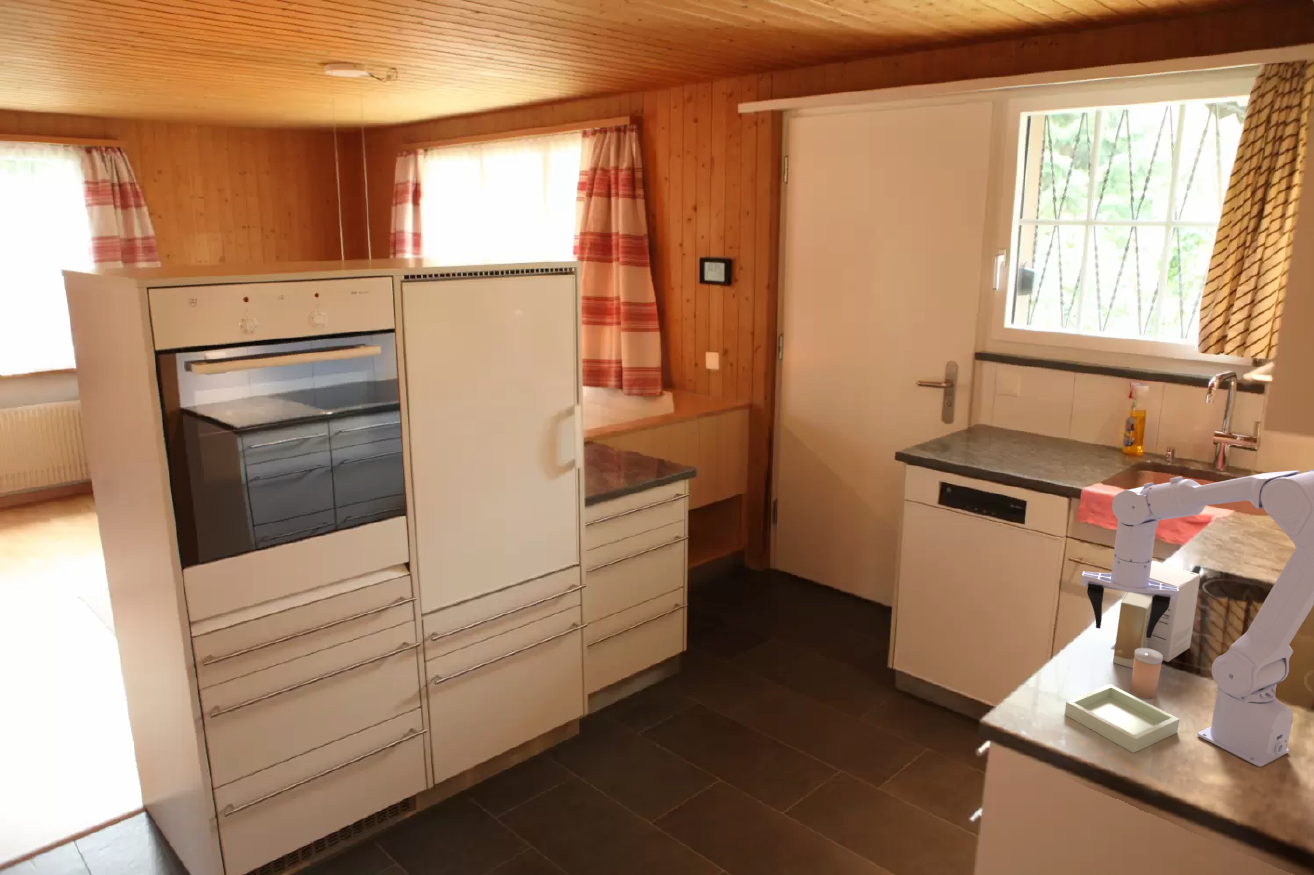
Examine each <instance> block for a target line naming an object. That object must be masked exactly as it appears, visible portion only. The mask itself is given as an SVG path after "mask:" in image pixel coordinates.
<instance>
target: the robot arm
mask: <svg viewBox="0 0 1314 875" xmlns="http://www.w3.org/2000/svg"><path fill="white" fill-rule="evenodd" d="M1246 501H1247V502H1250V503H1251V504H1252V505H1253V507H1254V508H1256V509H1257V510H1260V509H1264V511H1265V512H1266V514H1267V515H1268V516H1269V517H1270V518H1271V520H1272V521H1274V523H1276V525H1277V526H1278V527H1279V528H1280V529H1281V530H1282V532H1284V534H1286V536H1287V537H1288V538H1289V539H1290V540H1291V541H1292V542H1293V545H1294V546H1295V548H1294V550H1293V552H1292V554H1291V555H1290V557H1289V558H1288V560H1287V562H1286V564H1285V566H1284V567H1283V569H1282V570H1281V572H1280V574H1279V576H1278V578H1277V579H1276V581H1275V582H1274V584H1273V586H1272V588H1271V589H1270V592H1269V593H1268V595H1267V597H1266V598H1265V600H1264V602H1263V603H1262V605H1261V606H1260V609H1259V610H1258V611H1257V614H1256V615H1255V616H1254V619H1253V620H1252V622H1251V624H1250V625H1249V627H1248V629H1247V631H1246V632H1245V633H1244V634H1243V635H1241V636H1240V637H1239V638H1238V639H1237V640H1236V641H1235V642H1233V643H1232V644H1231V645H1230V646H1229V648H1228V650H1227V651H1226V652H1225V653H1224V654H1221V655H1218V656H1217V657H1216V658H1215V659H1214V660H1213V662H1212V665H1211V675H1212V679H1213V681H1214V682H1215V684H1216V685H1217V688H1216V689H1217V691H1216V696H1215V702H1214V708H1213V714H1212V720H1211V725H1210V726H1208V727H1206V728H1204V729H1202V730H1200V731H1198V732H1197V736H1198V737H1199V738H1201V739H1204V740H1205V741H1207V742H1210V743H1211V744H1213V745H1215V746H1218V747H1219V748H1221V749H1223V750H1225V751H1227V752H1229V753H1231V754H1233V755H1235V756H1237V757H1239V758H1241V759H1243V760H1244V761H1246V762H1249V763H1251V764H1253V765H1254V766H1257V767H1258V768H1259V767H1263V766H1266V765H1267V764H1269V763H1271V762H1273V761H1274V760H1276V759H1279V758H1280V757H1283V756H1284V755H1286V754H1287V753H1289V751H1290V749H1289V748H1288V745H1289V740H1290V735H1291V729H1292V725H1293V724H1292V723H1293V720H1294V715H1293V714H1294V713H1293V710H1292V709H1291V708H1290V707H1289V706H1287V705H1285V704H1284V703H1282V702H1281V701H1280V700H1279V699H1278V698H1277V697H1276V691H1277V690H1276V689H1277V687H1278V686H1277V685H1278V683H1281V682H1283V681H1284V680H1285V679H1286V678H1287V677H1288V674H1289V672H1290V663H1289V662H1290V658H1291V656H1292V655H1293V653H1294V650H1293V649H1292V647H1291V645H1290V644H1291V642H1292V640H1294V638H1295V636H1296V634H1297V633H1298V631H1299V630H1300V628H1301V626H1302V625H1303V623H1304V621H1305V620H1306V618H1307V616H1308V615H1309V614H1310V612H1311V610H1312V608H1313V607H1314V469H1309V470H1307V471H1304V472H1303V473H1301V470H1286V471H1285V470H1284V471H1276V472H1275V471H1274V472H1273V471H1271V472H1263V473H1259V474H1254V475H1253V474H1252V475H1248V476H1243V477H1238V478H1231V479H1228V480H1223V481H1218V482H1213V483H1207V484H1203V485H1201V484H1200V483H1199V482H1197V481H1195V480H1194V479H1190V478H1186V479H1184V477H1183V476H1176V477H1171V478H1169V482H1163V483H1159V484H1154V482H1147V483H1144V484H1143V486H1140V487H1135V488H1130V489H1124V490H1123V491H1120V492H1119V493H1117V494H1116V495H1115V496H1114V498H1112V502H1111V510H1112V513H1113V515H1114V516H1115V518H1116V519H1117V524H1116V533H1115V540H1114V542H1115V543H1114V547H1113V548H1114V549H1113V556H1112V557H1113V558H1112V566H1111V572H1110V573H1107V572H1106V573H1105V572H1091V571H1082V574H1081V582H1080V586H1082V587H1087V590H1086V593H1087V596H1088V599H1089V601H1090V603H1091V604H1090V605H1091V606H1092V610H1093V612H1094V619H1095V629H1101V626H1102V619H1103V617H1102V616H1103V601H1104V592H1105V589H1108V590H1114V591H1119V592H1120V591H1121V592H1126V593H1127V592H1131V593H1137V594H1143V595H1148V596H1152V604H1151V612H1150V617H1149V621H1148V625H1147V632H1146V637H1147V638H1151V635H1152V632H1153V630H1154V628H1155V626H1156V624H1157V622H1158V621H1159V619H1160V618H1161V616H1162V615H1163V614H1164V613H1165V612H1166V611H1167V609H1168V608H1169V605H1170V601H1175V602H1177V601H1178V594H1179V587H1175V586H1170V585H1166V584H1163V583H1159V582H1156V581H1152V580H1149V578H1150V571H1151V563H1152V561H1153V555H1154V554H1153V553H1154V548H1155V539H1156V532H1157V529H1158V528H1159V527H1158V526H1159V522H1160V521H1163V520H1170V519H1178V518H1185V517H1192V516H1198V515H1200V514H1201V513H1202V512H1203V511H1204V510H1205V508H1206V507H1207V506H1210V505H1212V506H1213V505H1218V504H1219V505H1220V504H1228V503H1237V502H1246Z"/></svg>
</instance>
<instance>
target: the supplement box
mask: <svg viewBox="0 0 1314 875" xmlns="http://www.w3.org/2000/svg"><path fill="white" fill-rule="evenodd" d="M1149 580H1152V581H1156V582H1159V583H1163V584H1166V585H1170V586H1175V587H1179V594H1178V601H1177V602H1175V601H1170V605H1169V608H1168V609H1167V611H1166V612H1165V613H1164V614H1163V615H1162V616H1161V618H1160V619H1159V621H1158V622H1157V624H1156V626H1155V628H1154V630H1153V632H1152V635H1151V638H1148V643H1147V648H1148V649H1152V650H1155V651H1158V652H1159V653H1161V654H1162V655H1163V661H1164V662H1167V663H1169V662H1170V661H1172V660H1173V659H1174V658H1176V657H1178V656H1179V655H1181V654H1182V653H1184V652H1185V651H1188V649H1190V647H1191V643H1192V635H1193V628H1194V623H1195V622H1194V621H1195V617H1196V616H1195V614H1196V607H1197V601H1198V594H1199V589H1200V588H1199V587H1200V581H1201V574H1200V573H1196V572H1192V571H1189V570H1185V569H1184V568H1183V569H1181V568H1179V567H1176V566H1172V565H1169V564H1166V563H1164V562H1161V561H1156V560H1152V563H1151V571H1150V578H1149Z"/></svg>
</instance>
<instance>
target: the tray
mask: <svg viewBox="0 0 1314 875" xmlns="http://www.w3.org/2000/svg"><path fill="white" fill-rule="evenodd" d="M1064 715H1065V716H1066V717H1068V718H1071V719H1072V720H1073V721H1076V723H1079V724H1080V725H1083V726H1084V727H1086V728H1088V729H1090V730H1091V729H1092V730H1091V731H1093V732H1095V733H1097V734H1099V735H1101V736H1102V737H1104V738H1106V739H1107V740H1109V741H1111V742H1113V743H1115V744H1116V745H1119V746H1120V747H1122V748H1124V749H1125V750H1128V752H1131V753H1132V754H1134V753H1137V752H1139V751H1141V750H1143V749H1145V748H1147V747H1149V746H1151V745H1154V744H1156V743H1158V742H1160V741H1163V740H1164V739H1167V738H1168V737H1171V736H1173V735H1175V734H1177V733H1178V731H1179V726H1180V725H1179V724H1180V718H1178V717H1176V716H1175V715H1172V714H1170V713H1169V712H1167V711H1164V710H1163V709H1160V708H1159V707H1157V706H1155V705H1152V704H1151V703H1149V702H1147V701H1146V700H1142V699H1140V697H1138V696H1136V695H1134V694H1132V693H1128V692H1127V691H1124V690H1123V689H1121V688H1119V687H1116V686H1115V685H1113V684H1111V683H1109V684H1106V685H1104V686H1101V687H1099V688H1096V689H1094V690H1091V691H1088V692H1086V693H1084V694H1082V695H1078V696H1076V697H1075V698H1072V699H1069V700H1067V701H1065V708H1064Z"/></svg>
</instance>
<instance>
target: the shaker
mask: <svg viewBox="0 0 1314 875" xmlns="http://www.w3.org/2000/svg"><path fill="white" fill-rule="evenodd" d="M1134 657H1135V658H1134V665H1133V668H1132V671H1131V672H1132V673H1131V680H1130V687H1129V691H1130V693H1131V694H1132V695H1134V694H1135V695H1134V696H1136V695H1137V696H1136V697H1138V698H1142V699H1155V698H1156V697H1157V695H1158V694H1157V693H1158V690H1159V689H1158V688H1159V681H1160V675H1161V674H1160V673H1161V667H1162V663H1163V661H1164V660H1163V655H1162V654H1161V653H1159V652H1158V651H1155V650H1152V649H1148V648H1138V649H1136V650H1135V653H1134Z"/></svg>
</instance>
